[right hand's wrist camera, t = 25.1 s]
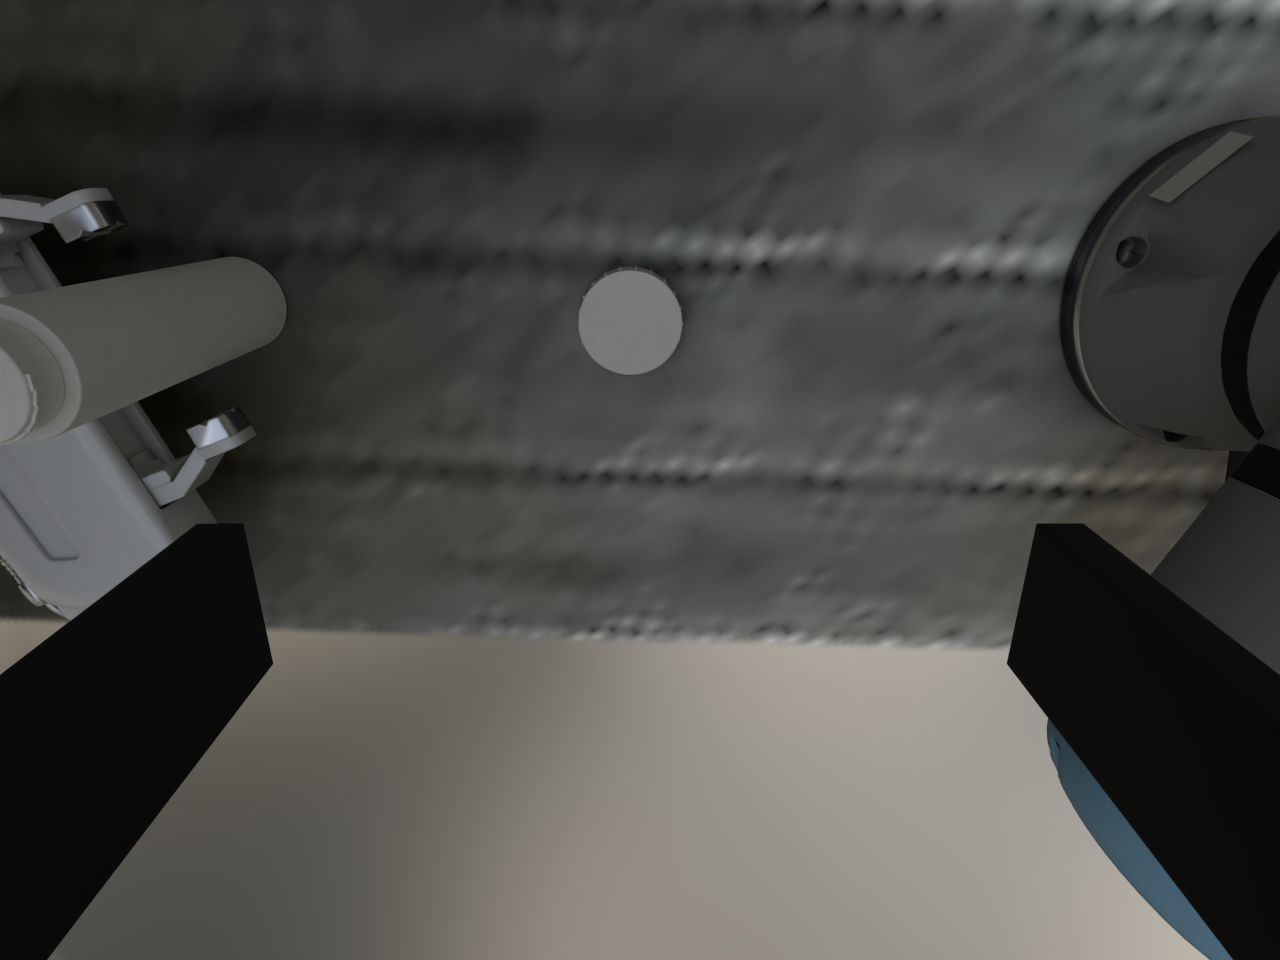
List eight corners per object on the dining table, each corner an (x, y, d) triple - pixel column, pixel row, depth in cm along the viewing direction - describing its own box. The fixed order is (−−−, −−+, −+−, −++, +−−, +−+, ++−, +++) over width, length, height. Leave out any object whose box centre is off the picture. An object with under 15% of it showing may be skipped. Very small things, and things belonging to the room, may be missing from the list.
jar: (209, 350, 38) (-79, 463, 23) (184, 259, 36) (-144, 315, 21) (296, 345, 38) (66, 455, 23) (275, 253, 36) (12, 305, 21)
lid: (702, 306, 37) (706, 312, 36) (641, 387, 39) (641, 396, 37) (619, 242, 36) (618, 245, 34) (559, 329, 38) (556, 335, 36)
